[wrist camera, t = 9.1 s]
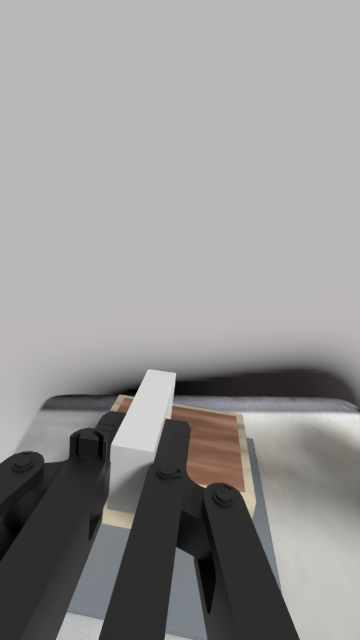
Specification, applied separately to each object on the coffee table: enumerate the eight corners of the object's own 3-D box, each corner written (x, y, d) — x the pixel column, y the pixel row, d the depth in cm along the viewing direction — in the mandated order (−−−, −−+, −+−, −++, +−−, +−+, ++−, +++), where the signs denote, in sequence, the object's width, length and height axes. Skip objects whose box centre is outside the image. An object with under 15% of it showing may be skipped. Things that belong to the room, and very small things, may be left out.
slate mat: (292, 660, 25) (293, 656, 25) (-7, 595, 26) (-7, 592, 26) (252, 441, 52) (252, 438, 52) (105, 415, 54) (105, 413, 53)
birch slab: (256, 500, 31) (242, 413, 47) (74, 466, 32) (119, 393, 48) (245, 551, 33) (235, 451, 48) (71, 517, 34) (116, 430, 49)
